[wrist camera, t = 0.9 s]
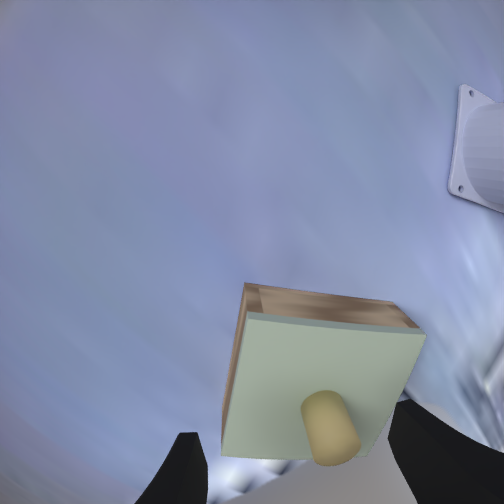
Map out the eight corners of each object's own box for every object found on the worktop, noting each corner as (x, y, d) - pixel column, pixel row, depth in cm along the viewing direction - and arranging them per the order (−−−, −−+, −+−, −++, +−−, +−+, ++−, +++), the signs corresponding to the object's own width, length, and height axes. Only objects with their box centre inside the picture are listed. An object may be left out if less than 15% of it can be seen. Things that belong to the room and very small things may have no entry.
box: (392, 301, 20) (420, 328, 16) (348, 414, 23) (363, 448, 19) (244, 282, 19) (247, 311, 15) (222, 407, 22) (221, 446, 18)
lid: (420, 328, 16) (461, 368, 12) (363, 448, 19) (382, 493, 15) (247, 311, 15) (252, 362, 11) (221, 446, 18) (220, 500, 14)
